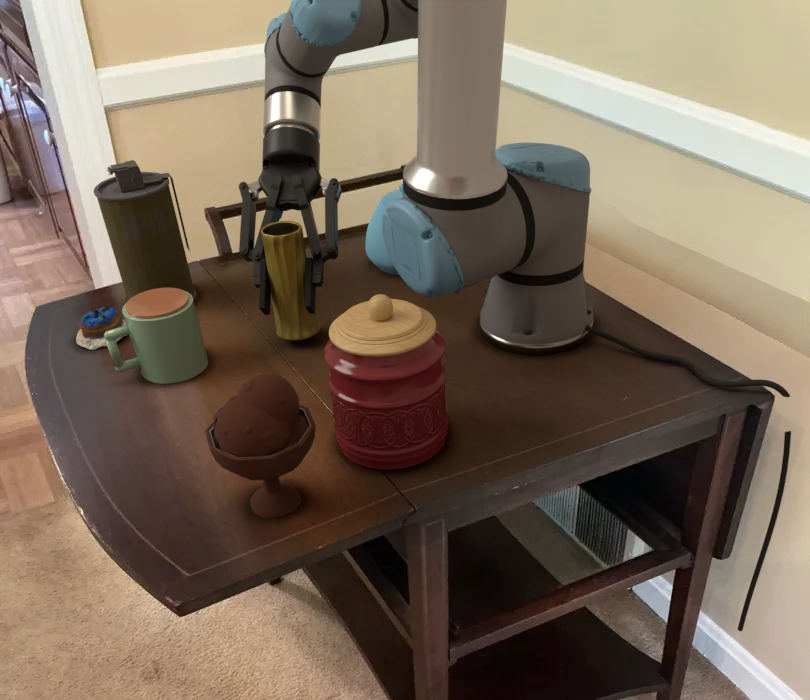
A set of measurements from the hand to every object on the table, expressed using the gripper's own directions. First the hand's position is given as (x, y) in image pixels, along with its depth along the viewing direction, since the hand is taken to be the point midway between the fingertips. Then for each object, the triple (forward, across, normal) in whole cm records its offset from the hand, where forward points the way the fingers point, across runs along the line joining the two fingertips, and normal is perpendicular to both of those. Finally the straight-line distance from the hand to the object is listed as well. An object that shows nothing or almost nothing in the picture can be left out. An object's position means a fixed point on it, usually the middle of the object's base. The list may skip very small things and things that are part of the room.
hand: (287, 310), depth 111 cm
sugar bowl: (-16, -14, -25) cm, 33 cm away
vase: (+1, 0, -6) cm, 6 cm away
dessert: (+1, +29, -8) cm, 30 cm away
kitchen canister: (+19, -16, +10) cm, 27 cm away
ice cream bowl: (+27, -4, +18) cm, 33 cm away
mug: (+7, +17, -1) cm, 19 cm away
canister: (-7, +24, -16) cm, 30 cm away
